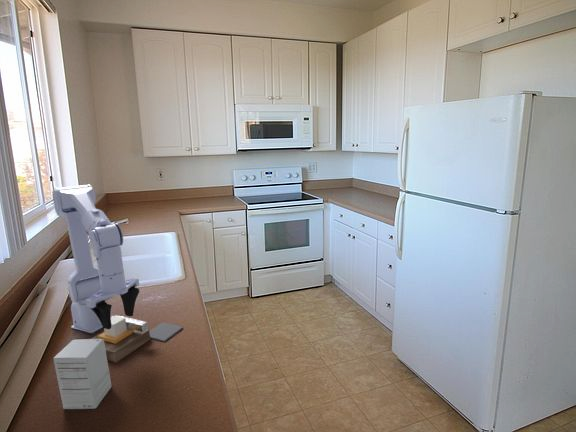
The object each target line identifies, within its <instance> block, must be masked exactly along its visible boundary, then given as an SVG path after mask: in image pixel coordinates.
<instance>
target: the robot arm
mask: <svg viewBox="0 0 576 432" xmlns="http://www.w3.org/2000/svg"><path fill="white" fill-rule="evenodd" d="M94 189H95V188H94V187H93V185H91V184H90V183H88V184H82V185H74V186H66V187H65V186H64V187H54V189H53V190H52V201H53V206H54V210H55V213H56V215H57V216H58V217H63V219H64V221H65V223H66V227H67V232H68V236H69V237H68V238H69V242H70V247H71V251H72V256H73V260H74V266H75V270H74V271H73V272H72V273H71V274H70V275H69V276H68V278H67V285H68V286H67V289H68V294H69V299H70V300H71V302H72V303H71V306H70V311H71V317H72V323H73V325H71V327H70V328H71V329H75V330H78V331H82V332H86V333H89V334H94V333H95V332H97V331H100V330H101V329H102V328H103V329H104V328H105V329H111V317H110V315H111V310H112V306H113V305H112V304H108V302H107V301H108V300H109V299H112V298H113V297H116V296H118V295H119V296H120V298H121V301H122V305H123V311H124V312H123V313H124V314H125V316H126V317H133V316H134V311H135V307H136V306H135V304H136V301H137V298H138V296H139V294H140V288H137V287H139V286H140V281H139V278H136V277H132V278H129V279H127V280H126V277H125V271H124V270H125V269H124V262H123V256H122V255H123V254H122V249H121V248H122V247H121V246H123V244H124V234H123V230H122V228H121V226H120V225H119V223H118V222H115V221H113V222H111V220H110V219H109V218H108V216H107V215H106V214H105V211H103V210H102V209H99V208H96V206H95V203H96V199H97V198H96V191H95V190H94ZM88 235H89V237H88ZM90 245H91V248H92V252H93V256H94V257H95V259H96V265H97V266H96V267H95V266H94V263H93V259H92V254H91V249H90Z"/></svg>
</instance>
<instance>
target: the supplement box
mask: <svg viewBox="0 0 576 432" xmlns="http://www.w3.org/2000/svg"><path fill="white" fill-rule="evenodd" d="M53 364H54V369H55V373H56V378H57V383H58V384H57V385H58V387H59V394H60V398H61V404H62V408H63V409H64V410H87V409H88V410H89V409H91V410H92V409H93V410H94V409H97V408H98V406H99V405H100V404H101V402H102V400H103V399H104V398H105V396H107V394H108V392H109V391H110V390H111V388H112V381H111V375H110V368H109V362H108V360H107V356H106V350H105V344H104V339H91V338H88V339H87V338H81V339H78V338H77V339H72V340H71V341H70V342H69V343H68V344H67V345H66V346H65V347H64V348H62V349H61V350H60V351H59V352H58V353H57V354H56V355H55V356H54V357H53Z"/></svg>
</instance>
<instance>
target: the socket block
mask: <svg viewBox="0 0 576 432" xmlns="http://www.w3.org/2000/svg"><path fill="white" fill-rule="evenodd" d="M149 331H150V329H149V328H148V329H146V330H145V331H143V332H141V331H136V330H134V332H133V333H132V334H130V335H129V336H127V337H125V338H124V339H122V340H121V341H119V342H118V343H116V344H115V343H111V342H107V341H104V344H105V350H106V356H107V361H109V362H112V363H119V362H120V361H121V360H123V358H125V357H127V356H128V355H130V354H131V353H133V352H134V351H136V350H137V349H138V348H140V347H142V346H143V345H144V344H145V343H147V342H149V341H150V340H151V339H150V333H149ZM102 333H104V330H103V331H102V332H100V333H98V334H97V335H95V336H93V337H92V338H91V337H90V339H99V338H98V336H99V335H101V334H102Z"/></svg>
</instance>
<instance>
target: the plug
mask: <svg viewBox="0 0 576 432" xmlns="http://www.w3.org/2000/svg"><path fill="white" fill-rule="evenodd" d="M119 316H120V315H118V316H114V317H112V318H111V329H105V328H103V331H104V333H102V332H101V333H102V334H101V335H99V336H98V338H99V339H104V341H107V342H111V343H115V344H116V343H118V342H119V341H121V340H122V339H124V338H125V337H127V336H129V335H130V334H132V333H133V332H134V330H132V329H128V328H127V325H126V318H123V317H124V316H123V317H119Z"/></svg>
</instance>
